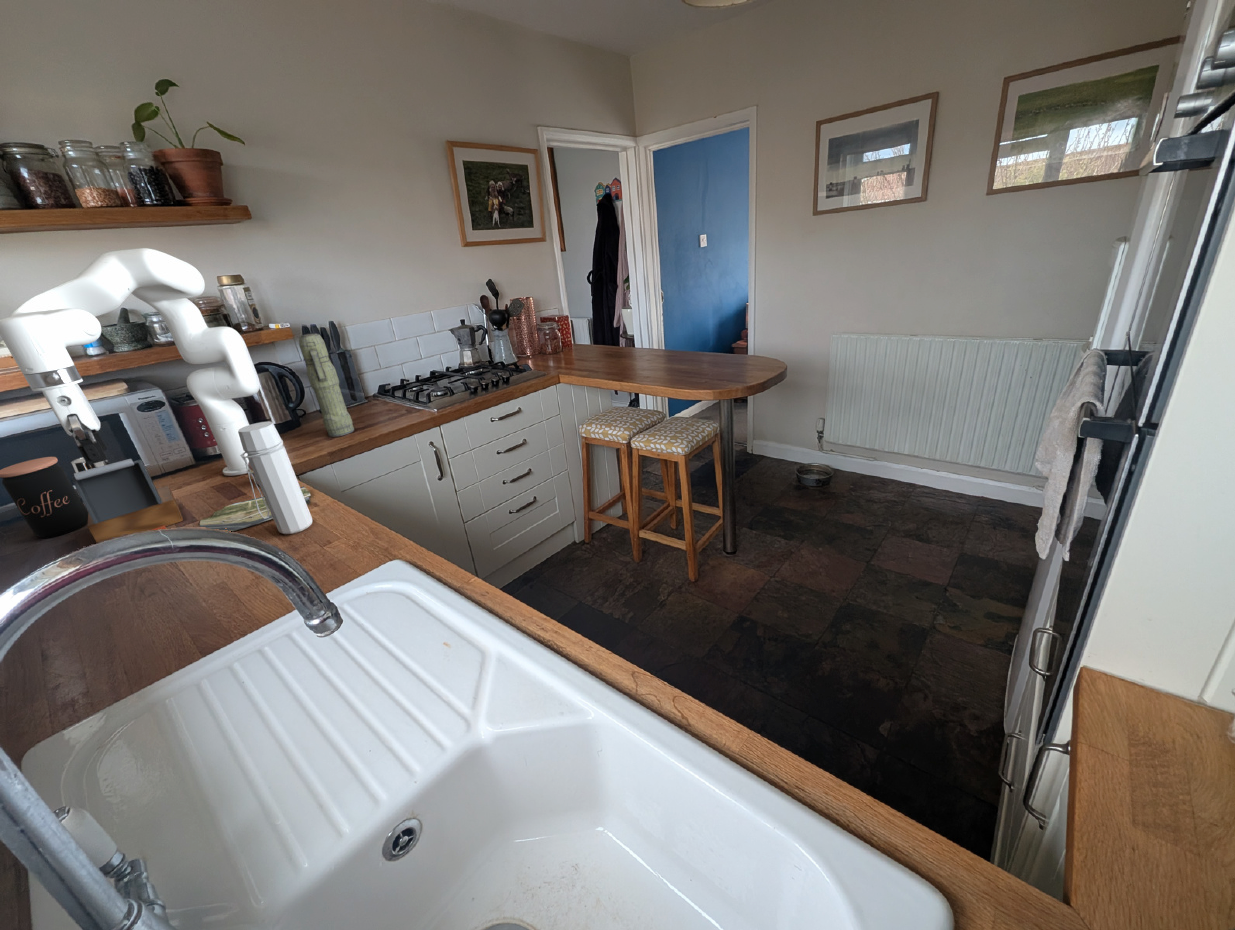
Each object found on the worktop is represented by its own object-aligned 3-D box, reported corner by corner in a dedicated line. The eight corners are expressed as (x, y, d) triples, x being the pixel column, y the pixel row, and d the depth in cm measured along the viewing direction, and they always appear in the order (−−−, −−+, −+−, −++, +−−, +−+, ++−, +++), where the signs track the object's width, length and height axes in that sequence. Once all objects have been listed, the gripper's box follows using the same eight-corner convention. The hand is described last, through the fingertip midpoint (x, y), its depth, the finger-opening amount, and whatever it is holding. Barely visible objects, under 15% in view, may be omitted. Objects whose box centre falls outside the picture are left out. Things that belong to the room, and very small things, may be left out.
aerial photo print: (203, 547, 118) (200, 540, 117) (193, 522, 131) (190, 516, 130) (321, 503, 133) (319, 498, 132) (302, 485, 146) (300, 480, 145)
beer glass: (111, 514, 141) (83, 463, 135) (92, 514, 143) (63, 463, 137) (137, 501, 147) (111, 452, 141) (118, 502, 149) (92, 453, 143)
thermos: (330, 439, 182) (295, 338, 168) (326, 432, 191) (292, 335, 177) (357, 432, 186) (325, 333, 173) (351, 425, 196) (321, 330, 182)
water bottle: (308, 516, 126) (270, 418, 116) (318, 526, 121) (279, 424, 111) (266, 533, 121) (222, 431, 111) (274, 543, 115) (229, 438, 105)
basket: (141, 458, 126) (137, 456, 118) (162, 502, 129) (160, 503, 120) (74, 476, 119) (65, 475, 111) (98, 522, 121) (91, 525, 113)
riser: (178, 505, 142) (168, 485, 139) (183, 520, 132) (172, 499, 130) (100, 529, 132) (88, 509, 130) (100, 548, 123) (87, 526, 120)
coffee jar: (28, 544, 129) (-15, 478, 122) (47, 526, 138) (8, 464, 131) (83, 530, 133) (45, 465, 126) (98, 514, 142) (64, 453, 135)
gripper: (78, 379, 101) (121, 460, 108) (80, 369, 113) (119, 442, 120) (24, 389, 97) (72, 473, 104) (32, 378, 109) (75, 453, 116)
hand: (98, 456), depth 112 cm, fingers open, 9 cm apart
